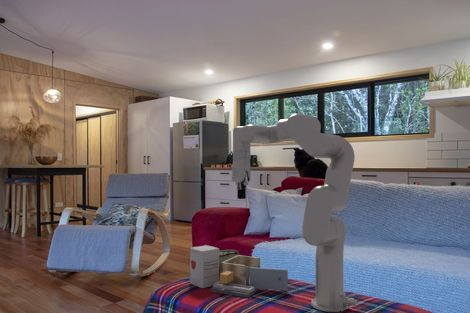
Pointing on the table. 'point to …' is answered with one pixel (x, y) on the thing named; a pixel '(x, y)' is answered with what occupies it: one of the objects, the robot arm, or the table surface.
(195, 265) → the supplement box
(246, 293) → the fader board
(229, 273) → the fader knob
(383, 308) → the table surface
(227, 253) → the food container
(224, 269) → the tan open box
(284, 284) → the door
